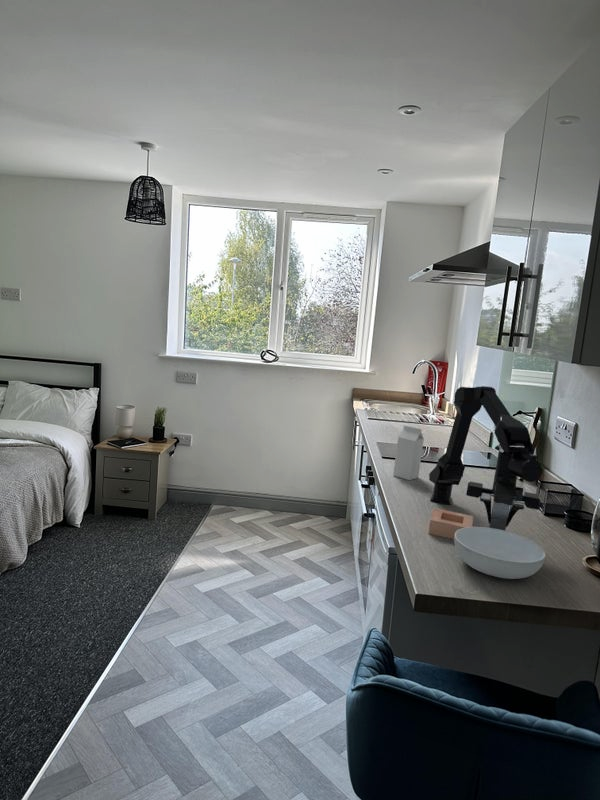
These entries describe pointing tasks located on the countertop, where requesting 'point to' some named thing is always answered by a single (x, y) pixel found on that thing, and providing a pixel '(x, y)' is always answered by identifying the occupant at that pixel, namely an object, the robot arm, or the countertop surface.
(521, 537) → the serving bowl
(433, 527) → the orange square socket block
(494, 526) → the tall grey square pillar
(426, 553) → the countertop surface
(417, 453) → the milk carton
